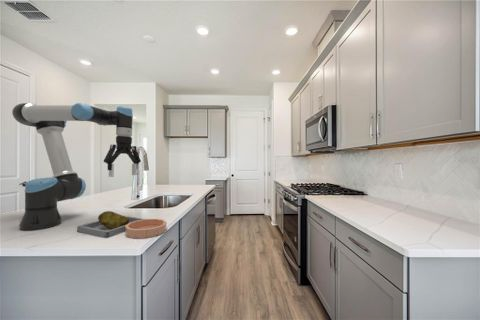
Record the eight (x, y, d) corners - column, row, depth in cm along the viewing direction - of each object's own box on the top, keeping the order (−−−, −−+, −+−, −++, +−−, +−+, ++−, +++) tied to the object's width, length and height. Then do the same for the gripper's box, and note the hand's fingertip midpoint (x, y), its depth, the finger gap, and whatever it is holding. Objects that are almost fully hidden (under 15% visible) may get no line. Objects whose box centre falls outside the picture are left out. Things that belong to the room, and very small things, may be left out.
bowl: (116, 235, 93) (116, 226, 93) (146, 224, 109) (146, 217, 109) (146, 240, 87) (146, 232, 87) (173, 228, 103) (173, 221, 103)
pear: (120, 231, 99) (121, 213, 99) (94, 230, 99) (94, 213, 99) (131, 225, 107) (131, 209, 107) (107, 224, 108) (107, 209, 108)
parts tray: (77, 231, 97) (77, 226, 97) (119, 219, 117) (119, 215, 117) (106, 238, 90) (106, 232, 90) (145, 223, 110) (145, 219, 110)
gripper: (106, 133, 100) (105, 178, 100) (147, 138, 123) (147, 174, 123) (95, 133, 103) (94, 177, 103) (138, 138, 126) (137, 174, 126)
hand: (123, 175), depth 113 cm, fingers open, 13 cm apart
